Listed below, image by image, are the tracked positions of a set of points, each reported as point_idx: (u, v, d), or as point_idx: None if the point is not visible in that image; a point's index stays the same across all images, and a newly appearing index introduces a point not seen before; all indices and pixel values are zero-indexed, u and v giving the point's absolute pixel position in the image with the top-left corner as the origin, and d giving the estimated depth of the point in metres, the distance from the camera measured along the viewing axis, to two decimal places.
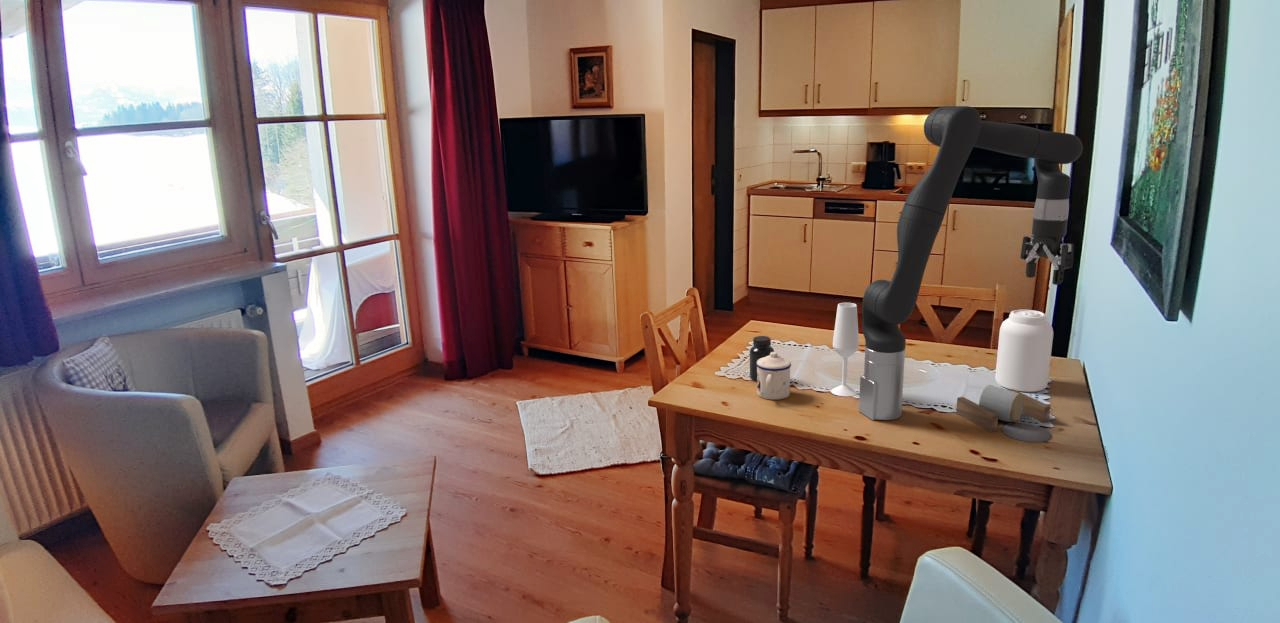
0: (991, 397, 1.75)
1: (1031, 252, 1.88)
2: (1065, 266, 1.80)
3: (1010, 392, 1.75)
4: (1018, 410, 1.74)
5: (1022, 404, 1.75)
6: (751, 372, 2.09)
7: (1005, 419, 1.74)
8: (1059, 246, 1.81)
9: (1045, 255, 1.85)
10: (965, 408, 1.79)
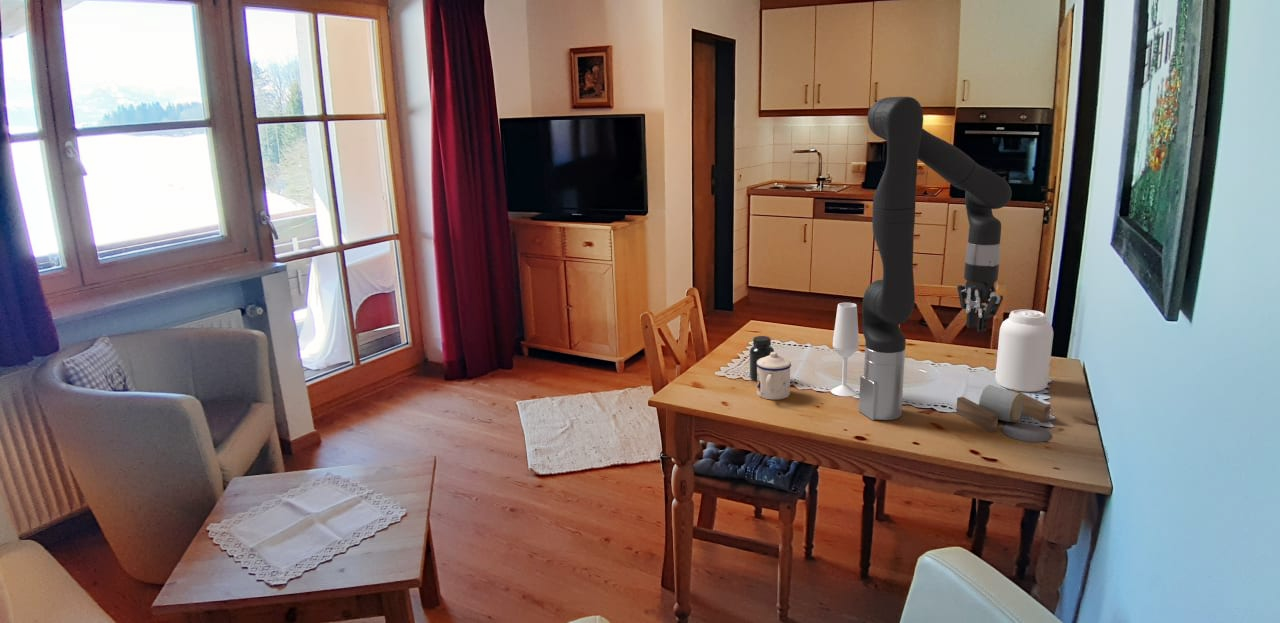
0: (991, 397, 1.75)
1: (967, 299, 1.84)
2: (988, 315, 1.78)
3: (1010, 392, 1.75)
4: (1018, 410, 1.74)
5: (1022, 404, 1.75)
6: (751, 372, 2.09)
7: (1005, 419, 1.74)
8: (989, 294, 1.78)
9: None
10: (965, 408, 1.79)
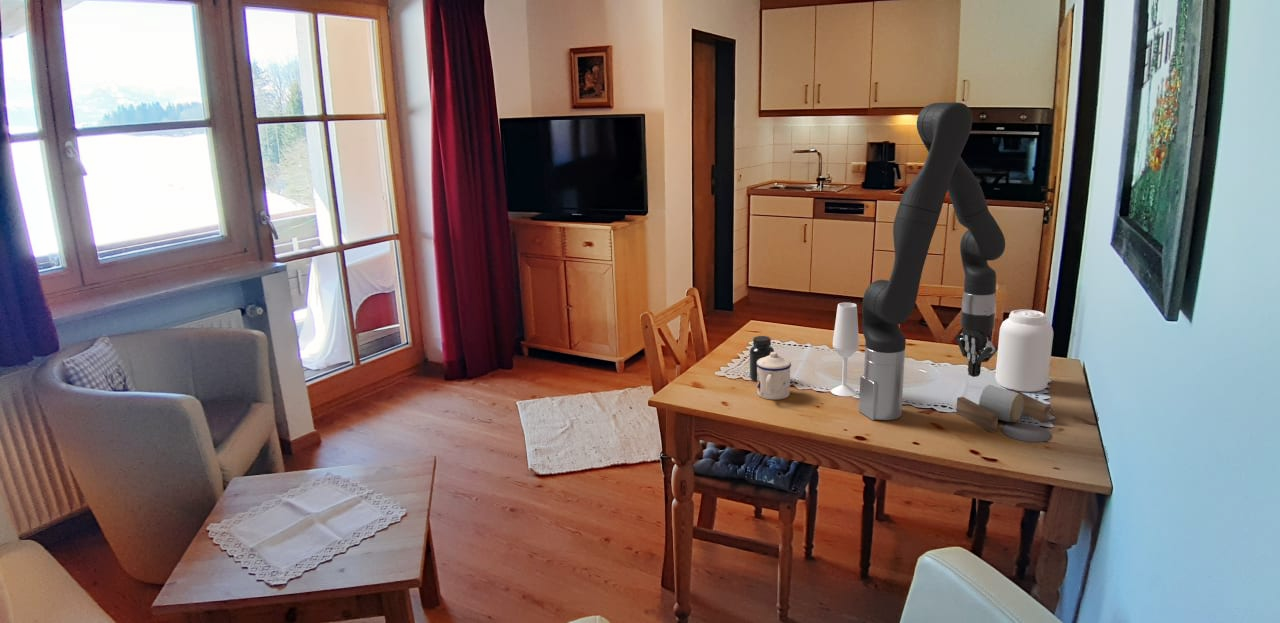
0: (991, 397, 1.75)
1: (966, 347, 1.86)
2: (980, 362, 1.83)
3: (1010, 392, 1.75)
4: (1018, 410, 1.74)
5: (1022, 404, 1.75)
6: (751, 372, 2.09)
7: (1005, 419, 1.74)
8: (985, 343, 1.81)
9: None
10: (965, 408, 1.79)
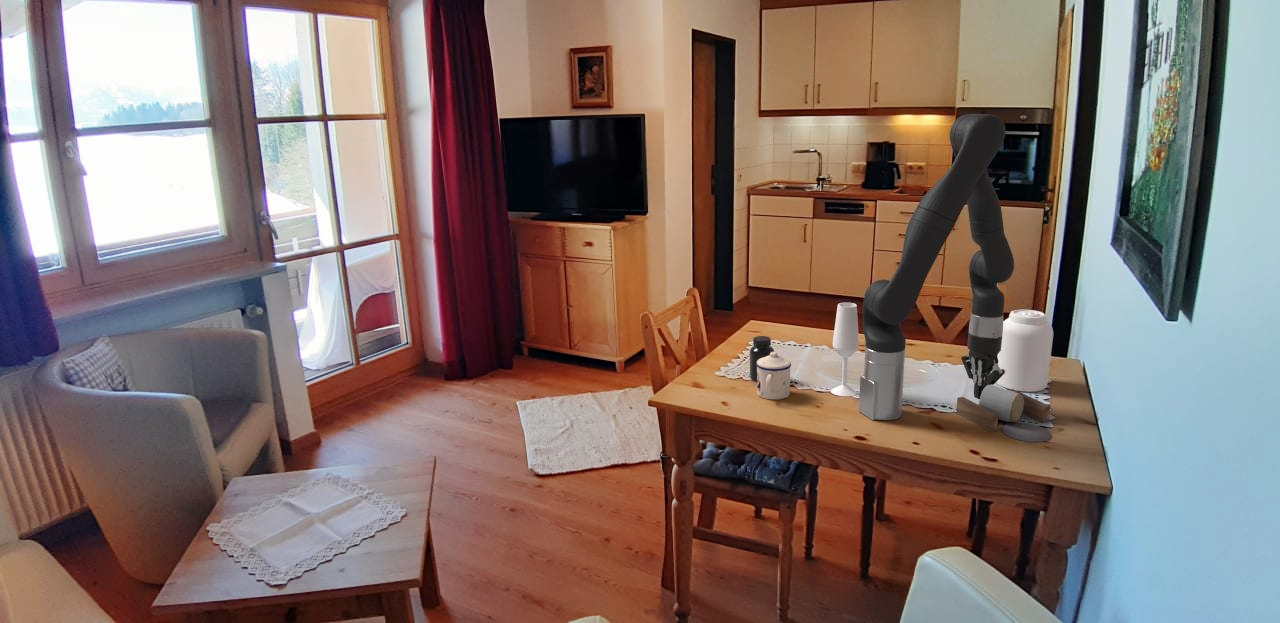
0: (991, 397, 1.75)
1: (972, 369, 1.85)
2: None
3: (1010, 392, 1.75)
4: (1018, 410, 1.74)
5: (1022, 404, 1.75)
6: (751, 372, 2.09)
7: (1005, 419, 1.74)
8: (992, 366, 1.79)
9: None
10: (965, 408, 1.79)
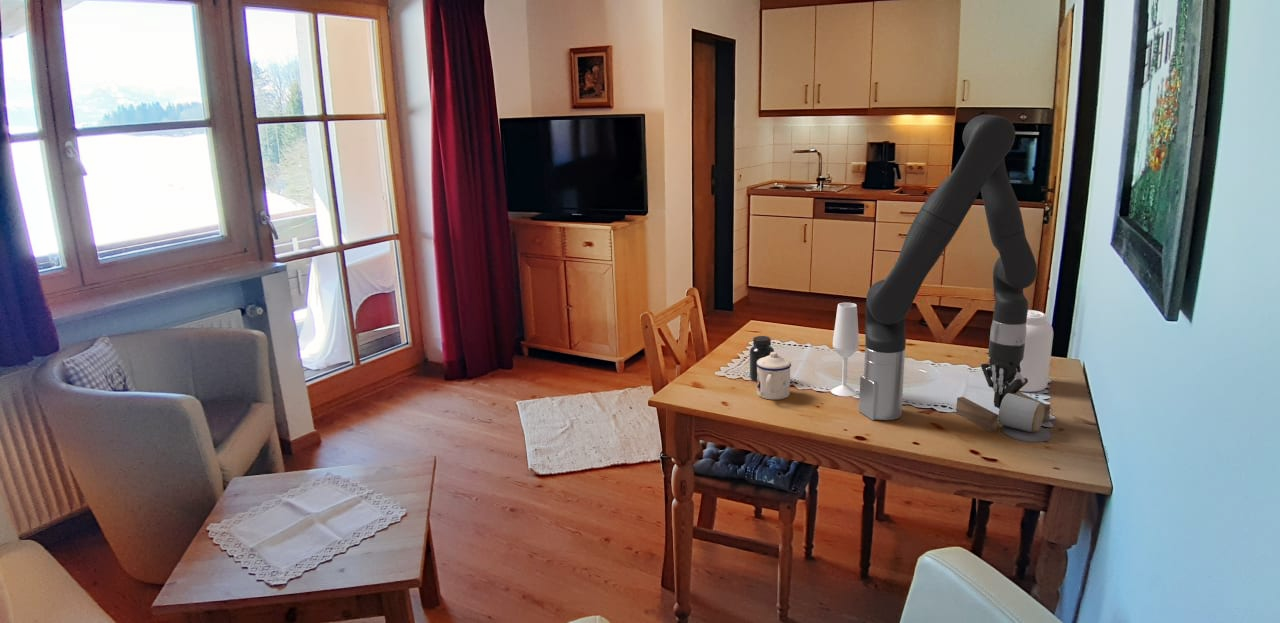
0: (1012, 406, 1.69)
1: (993, 378, 1.78)
2: None
3: (1031, 401, 1.69)
4: (1039, 420, 1.69)
5: (1043, 413, 1.70)
6: (751, 372, 2.09)
7: (1026, 429, 1.69)
8: (1014, 374, 1.73)
9: None
10: (965, 408, 1.79)
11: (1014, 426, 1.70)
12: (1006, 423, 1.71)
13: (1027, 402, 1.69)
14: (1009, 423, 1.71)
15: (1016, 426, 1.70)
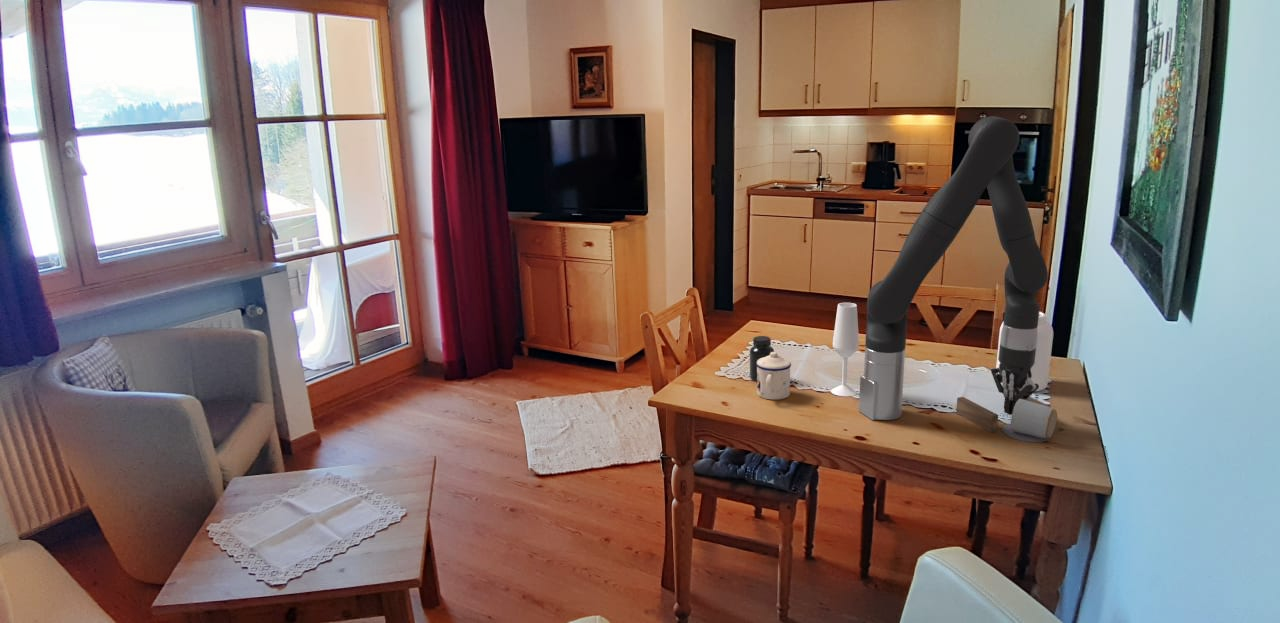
0: (1025, 413, 1.66)
1: (1003, 383, 1.75)
2: None
3: (1044, 407, 1.66)
4: (1052, 426, 1.65)
5: (1055, 419, 1.67)
6: (751, 372, 2.09)
7: (1039, 435, 1.65)
8: (1025, 380, 1.69)
9: None
10: (965, 408, 1.79)
11: (1027, 432, 1.67)
12: (1019, 429, 1.68)
13: (1040, 408, 1.65)
14: (1021, 430, 1.67)
15: (1029, 432, 1.66)
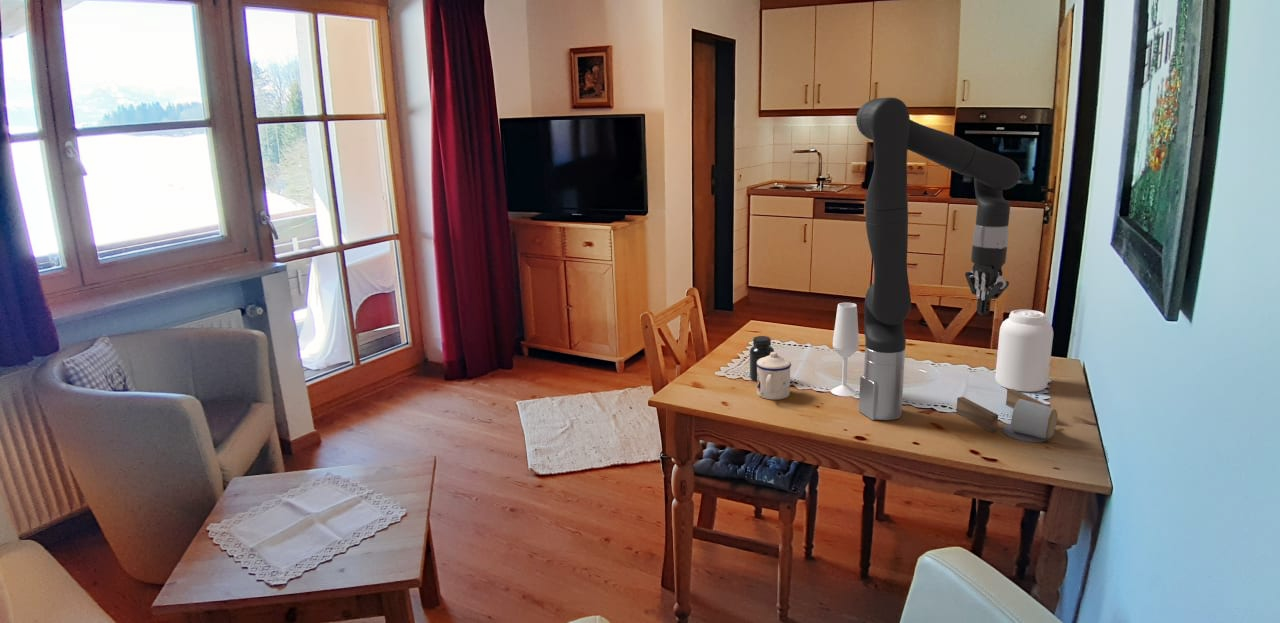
0: (1025, 413, 1.66)
1: (976, 284, 1.80)
2: (990, 298, 1.77)
3: (1044, 407, 1.65)
4: (1052, 426, 1.65)
5: (1056, 419, 1.67)
6: (751, 372, 2.09)
7: (1040, 436, 1.65)
8: (996, 278, 1.75)
9: None
10: (965, 408, 1.79)
11: (1027, 433, 1.67)
12: (1019, 430, 1.67)
13: (1040, 408, 1.65)
14: (1022, 430, 1.67)
15: (1029, 433, 1.66)
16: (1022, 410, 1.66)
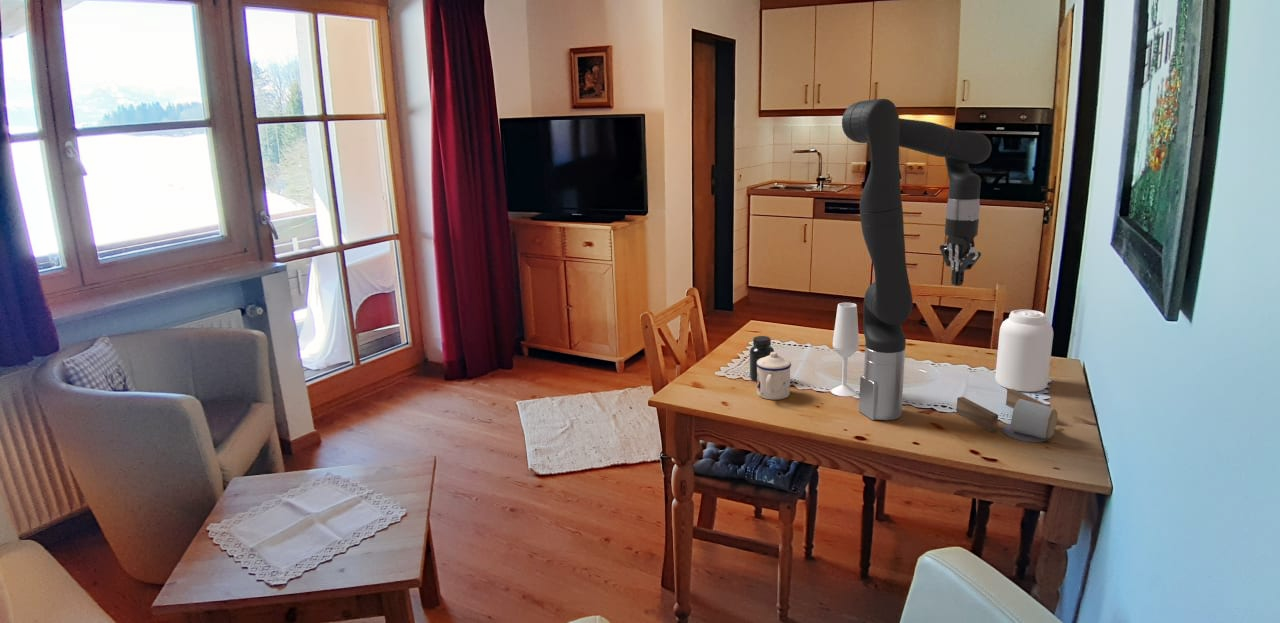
0: (1025, 413, 1.66)
1: (950, 256, 1.87)
2: (963, 269, 1.84)
3: (1044, 407, 1.65)
4: (1052, 426, 1.65)
5: (1056, 419, 1.67)
6: (751, 372, 2.09)
7: (1040, 436, 1.65)
8: (968, 249, 1.82)
9: None
10: (965, 408, 1.79)
11: (1027, 433, 1.67)
12: (1019, 430, 1.67)
13: (1040, 408, 1.65)
14: (1022, 430, 1.67)
15: (1029, 433, 1.66)
16: (1022, 410, 1.66)
